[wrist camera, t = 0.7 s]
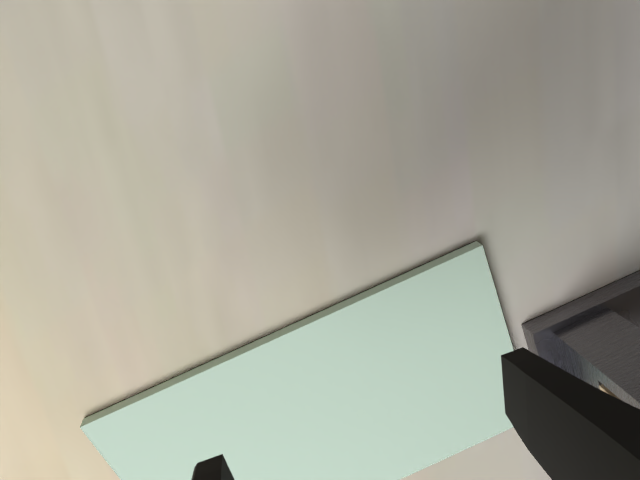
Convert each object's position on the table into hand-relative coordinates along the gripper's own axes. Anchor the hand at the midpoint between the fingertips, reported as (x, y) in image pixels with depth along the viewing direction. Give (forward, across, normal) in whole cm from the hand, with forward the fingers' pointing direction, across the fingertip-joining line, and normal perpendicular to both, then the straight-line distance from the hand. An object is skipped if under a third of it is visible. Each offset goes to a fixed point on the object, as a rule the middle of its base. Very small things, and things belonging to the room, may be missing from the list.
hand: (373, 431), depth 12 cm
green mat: (+10, +1, +9) cm, 13 cm away
